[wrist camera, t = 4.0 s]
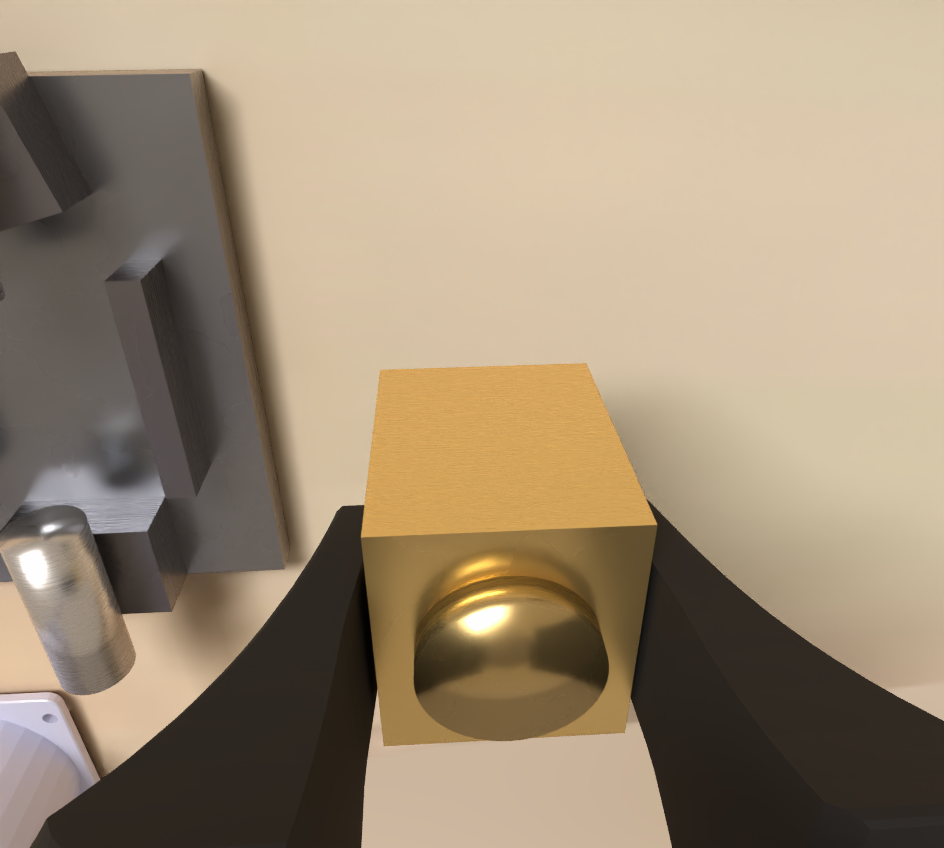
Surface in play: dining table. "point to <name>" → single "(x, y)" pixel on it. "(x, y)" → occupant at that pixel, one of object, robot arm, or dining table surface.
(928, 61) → the dining table surface
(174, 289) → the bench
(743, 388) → the dining table surface
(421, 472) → the coupler
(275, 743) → the robot arm
